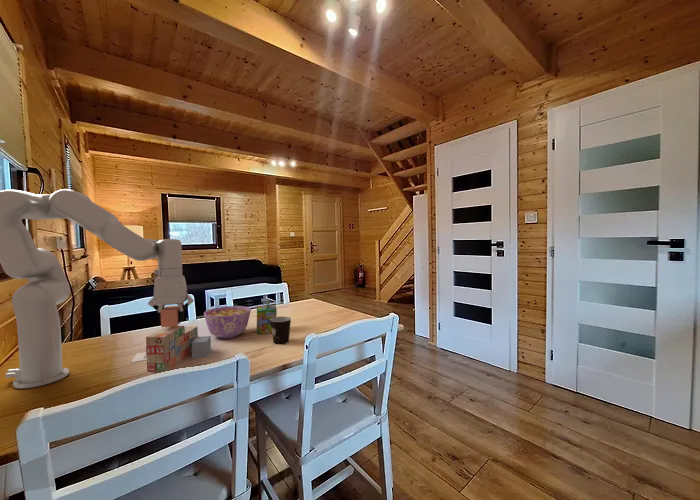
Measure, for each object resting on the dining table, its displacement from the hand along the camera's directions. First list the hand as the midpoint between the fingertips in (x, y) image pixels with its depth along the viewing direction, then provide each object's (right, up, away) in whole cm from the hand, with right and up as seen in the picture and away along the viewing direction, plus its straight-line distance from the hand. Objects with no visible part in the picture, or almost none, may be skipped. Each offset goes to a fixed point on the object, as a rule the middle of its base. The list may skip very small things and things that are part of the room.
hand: (172, 321), depth 111 cm
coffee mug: (+35, -14, +20) cm, 43 cm away
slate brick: (+8, -14, +6) cm, 17 cm away
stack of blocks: (0, -15, +1) cm, 15 cm away
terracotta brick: (0, -1, 0) cm, 1 cm away
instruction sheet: (-10, -14, +5) cm, 18 cm away
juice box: (+25, -13, +34) cm, 45 cm away
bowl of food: (+10, -13, +28) cm, 32 cm away
